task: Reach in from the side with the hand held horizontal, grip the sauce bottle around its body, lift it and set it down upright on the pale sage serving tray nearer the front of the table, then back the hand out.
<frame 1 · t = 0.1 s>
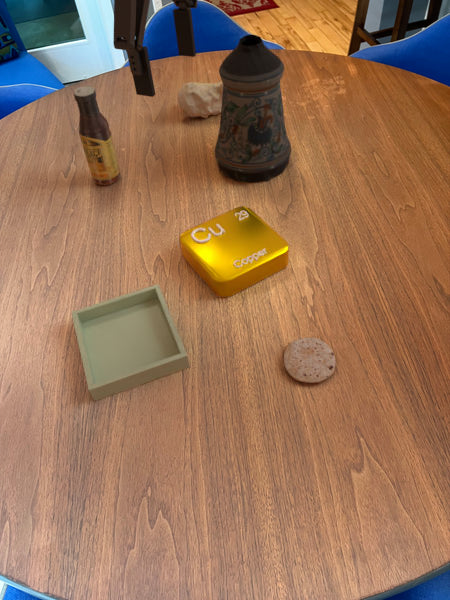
hand: (167, 74, 73), 29 cm above the table, tool pointing down, fingers open, 13 cm apart
serving tray: (130, 344, 75), on the table
element tile: (234, 259, 87), on the table
beige rock: (213, 111, 122), on the table
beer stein: (250, 159, 107), on the table
flatbread: (309, 361, 71), on the table
sauce bottle: (108, 179, 105), on the table
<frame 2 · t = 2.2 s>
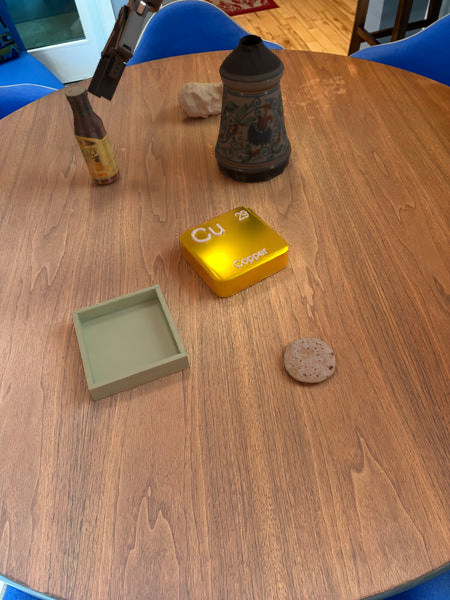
hand: (97, 96, 87), 20 cm above the table, tool tilted 45°, fingers open, 13 cm apart
sauce bottle: (108, 178, 105), on the table, touching gripper
everything else where it was.
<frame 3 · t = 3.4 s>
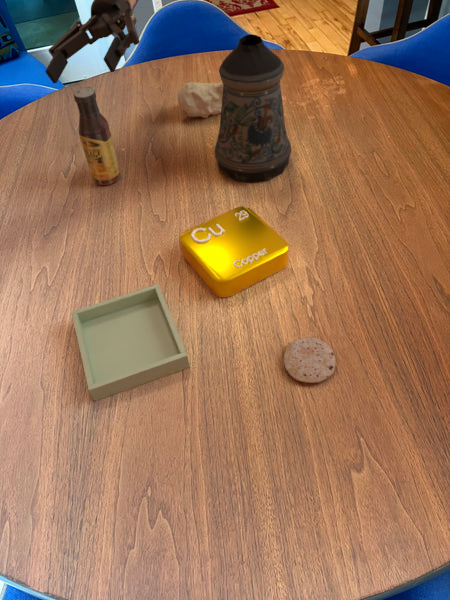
hand: (78, 71, 91), 22 cm above the table, tool horizontal, fingers open, 13 cm apart
sauce bottle: (108, 179, 105), on the table
everything else where it was.
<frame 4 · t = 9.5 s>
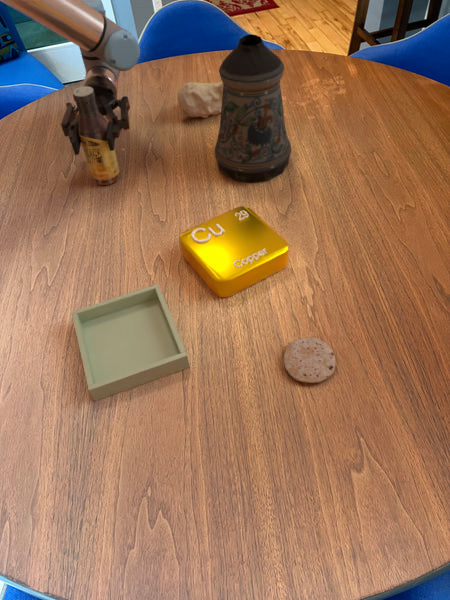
hand: (92, 146, 94), 11 cm above the table, tool horizontal, fingers closed on sauce bottle, 6 cm apart
sauce bottle: (108, 179, 105), on the table, touching gripper
everything else where it was.
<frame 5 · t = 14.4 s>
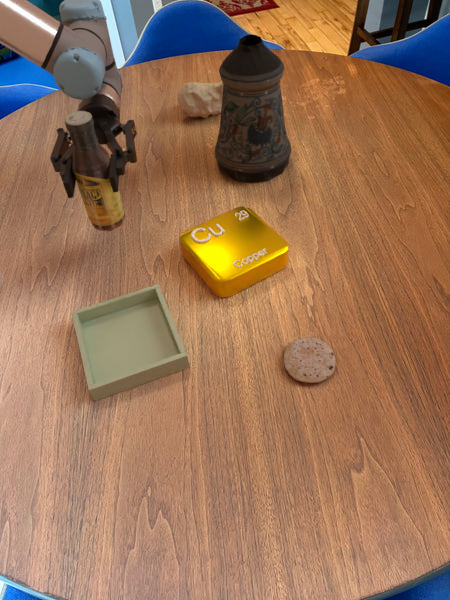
hand: (91, 187, 73), 18 cm above the table, tool horizontal, fingers closed on sauce bottle, 6 cm apart
sauce bottle: (110, 222, 85), point 7 cm above the table, touching gripper
everything else where it was.
when the fingers open (12 cm above the table, at t = 19.4 s): sauce bottle stays where it is, resting on serving tray.
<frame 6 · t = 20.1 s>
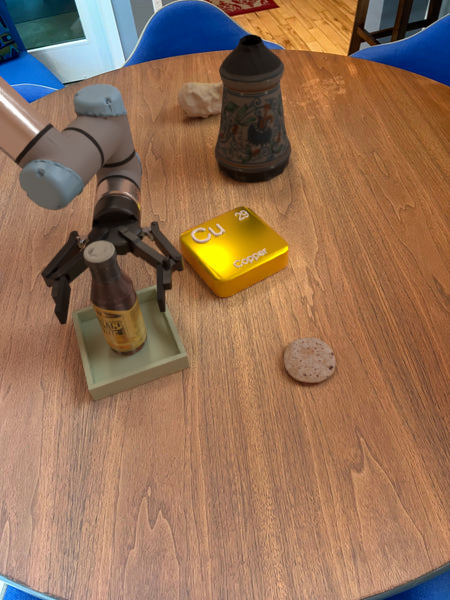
hand: (110, 312, 64), 12 cm above the table, tool horizontal, fingers open, 13 cm apart
sauce bottle: (130, 342, 75), resting on serving tray
everything else where it was.
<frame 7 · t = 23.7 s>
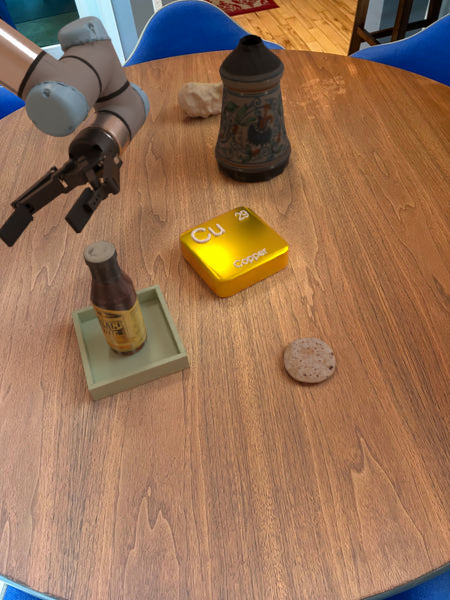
hand: (36, 233, 66), 18 cm above the table, tool horizontal, fingers open, 13 cm apart
nothing on the table moved.
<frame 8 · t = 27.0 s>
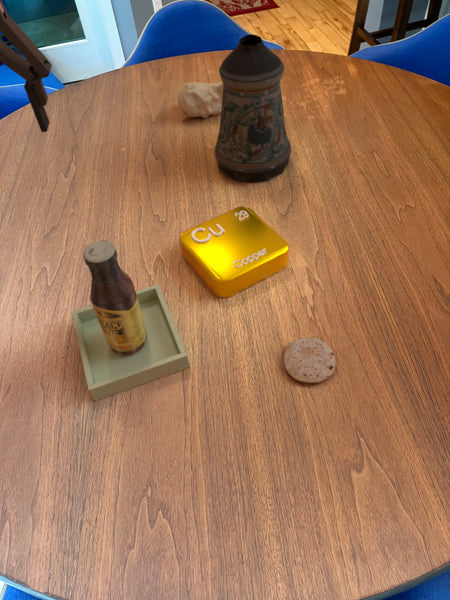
nothing on the table moved.
at the end: sauce bottle inside the target area in the serving tray (0.0 cm from its centre), point 0.4 cm above the serving tray's base; sauce bottle tilted 0°; the gripper is holding nothing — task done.
